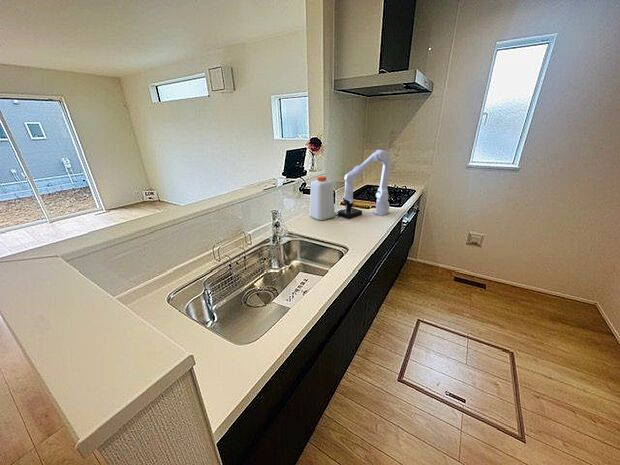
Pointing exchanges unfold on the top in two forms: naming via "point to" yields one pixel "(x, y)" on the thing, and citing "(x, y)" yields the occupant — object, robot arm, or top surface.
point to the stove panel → (350, 213)
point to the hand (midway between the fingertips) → (348, 210)
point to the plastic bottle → (321, 199)
